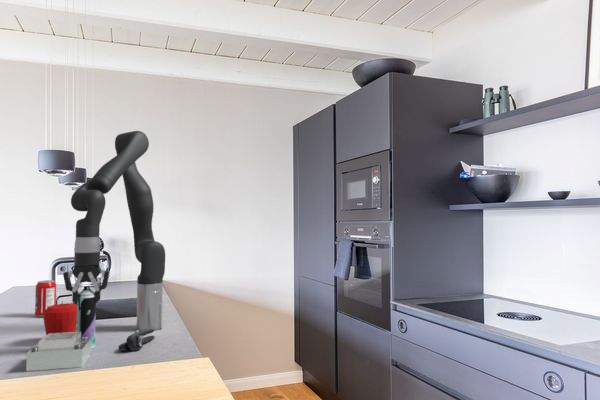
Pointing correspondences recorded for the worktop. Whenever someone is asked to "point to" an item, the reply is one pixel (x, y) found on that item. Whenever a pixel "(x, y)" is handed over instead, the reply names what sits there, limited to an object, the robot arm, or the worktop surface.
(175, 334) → the worktop surface
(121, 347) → the can opener
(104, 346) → the worktop surface
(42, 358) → the grey square holder
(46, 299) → the soda can
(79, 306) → the spray can
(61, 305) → the apple
